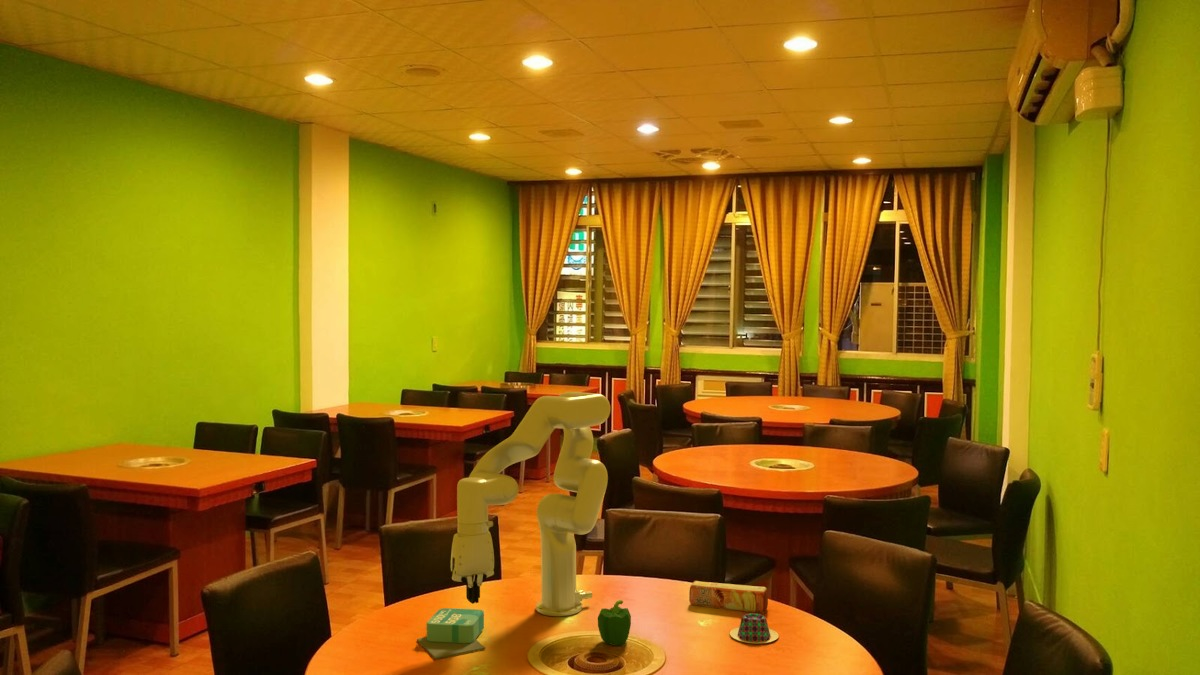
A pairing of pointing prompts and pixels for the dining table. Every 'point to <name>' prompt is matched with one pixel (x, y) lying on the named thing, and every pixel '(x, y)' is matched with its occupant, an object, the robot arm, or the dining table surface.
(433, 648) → the mat
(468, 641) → the teal square box
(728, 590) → the snack package
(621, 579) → the dining table surface
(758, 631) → the pudding
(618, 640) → the bell pepper
